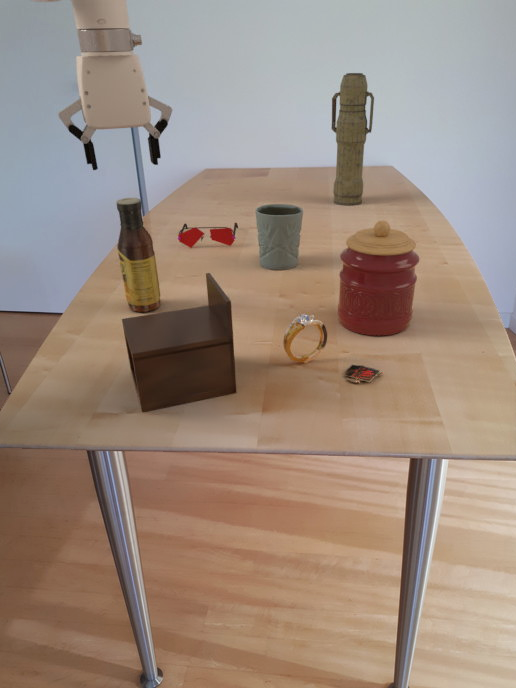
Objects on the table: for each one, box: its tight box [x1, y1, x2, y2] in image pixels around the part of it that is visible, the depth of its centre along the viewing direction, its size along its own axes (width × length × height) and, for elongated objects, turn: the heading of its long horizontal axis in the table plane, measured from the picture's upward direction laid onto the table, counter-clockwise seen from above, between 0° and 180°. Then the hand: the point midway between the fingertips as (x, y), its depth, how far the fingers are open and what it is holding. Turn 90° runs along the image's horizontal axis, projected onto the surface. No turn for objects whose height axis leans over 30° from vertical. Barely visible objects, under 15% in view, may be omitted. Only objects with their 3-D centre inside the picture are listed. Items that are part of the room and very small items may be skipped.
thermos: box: [331, 72, 375, 206], centre depth 160 cm, size 9×12×35 cm
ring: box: [282, 312, 328, 364], centre depth 82 cm, size 7×3×8 cm, turn 111°
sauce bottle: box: [116, 197, 162, 313], centre depth 97 cm, size 6×6×20 cm
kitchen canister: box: [337, 220, 420, 337], centre depth 92 cm, size 13×13×18 cm
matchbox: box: [344, 364, 383, 384], centre depth 80 cm, size 5×5×1 cm
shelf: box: [121, 272, 237, 413], centre depth 76 cm, size 13×11×14 cm
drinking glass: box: [255, 203, 304, 271], centre depth 119 cm, size 10×10×12 cm
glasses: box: [177, 222, 239, 249], centre depth 137 cm, size 14×16×5 cm
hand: (125, 165), depth 90 cm, fingers open, 9 cm apart
